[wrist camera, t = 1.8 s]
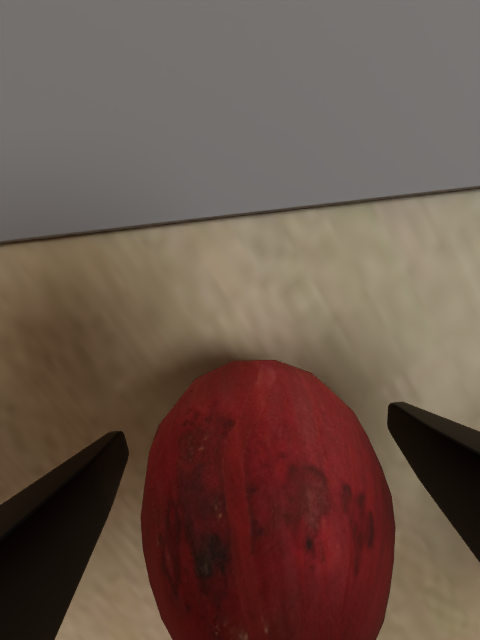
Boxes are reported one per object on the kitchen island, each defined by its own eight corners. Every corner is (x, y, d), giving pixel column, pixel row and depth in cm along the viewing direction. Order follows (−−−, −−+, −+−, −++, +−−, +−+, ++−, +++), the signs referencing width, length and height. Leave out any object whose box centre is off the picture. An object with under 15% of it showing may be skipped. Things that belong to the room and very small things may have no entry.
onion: (156, 368, 9) (-228, 872, 2) (283, 302, 9) (634, 604, 1) (225, 470, 11) (195, 1023, 3) (340, 417, 10) (691, 943, 2)
